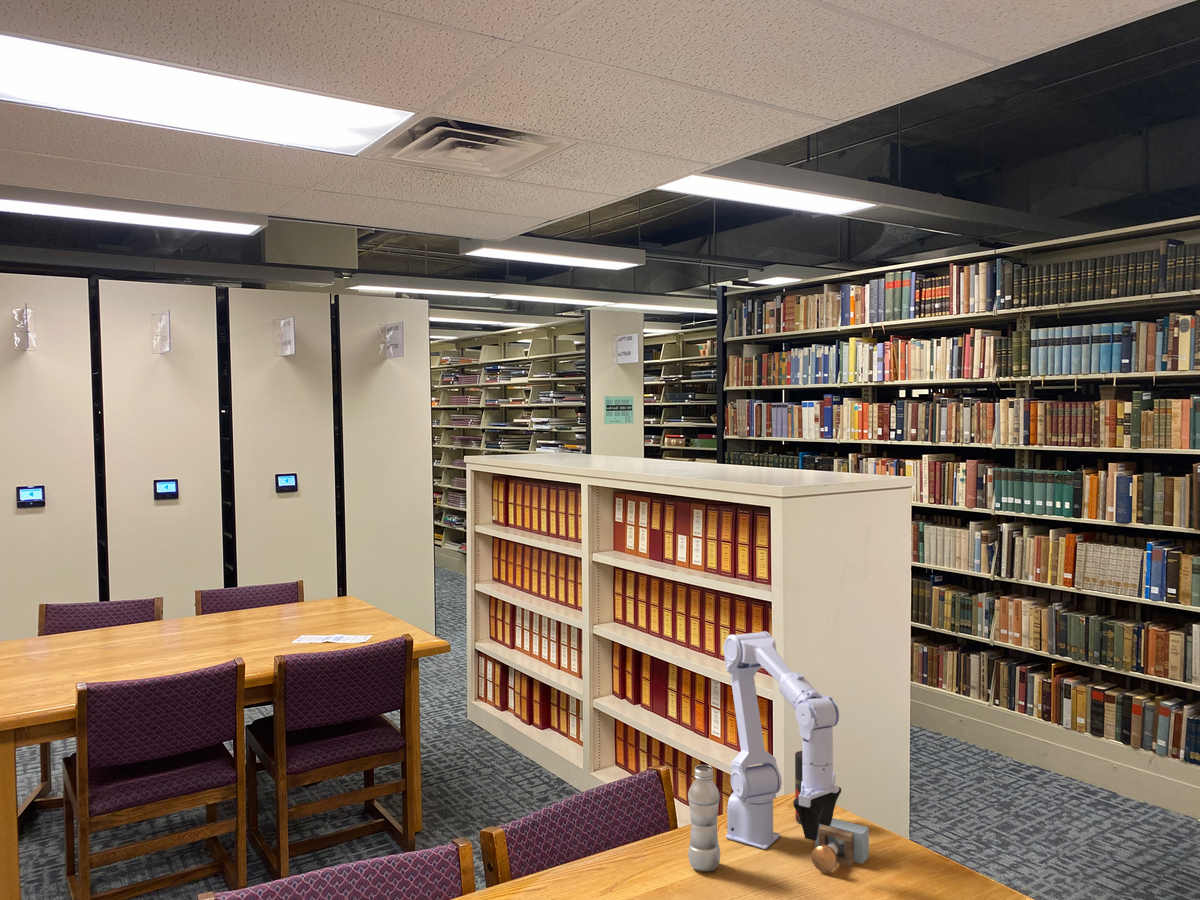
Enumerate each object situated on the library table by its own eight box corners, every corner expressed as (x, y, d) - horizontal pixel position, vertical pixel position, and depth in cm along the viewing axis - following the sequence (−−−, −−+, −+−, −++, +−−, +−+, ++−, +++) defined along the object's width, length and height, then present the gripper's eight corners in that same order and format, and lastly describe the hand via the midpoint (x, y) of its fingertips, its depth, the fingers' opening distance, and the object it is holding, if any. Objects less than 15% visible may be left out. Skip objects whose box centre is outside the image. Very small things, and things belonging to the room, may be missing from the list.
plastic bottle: (724, 863, 168) (724, 764, 168) (714, 878, 162) (714, 776, 162) (694, 857, 171) (693, 760, 171) (683, 872, 164) (683, 771, 165)
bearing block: (815, 850, 173) (815, 822, 173) (822, 843, 177) (821, 815, 177) (862, 864, 167) (862, 834, 168) (868, 856, 171) (868, 827, 171)
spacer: (819, 857, 170) (818, 828, 171) (822, 853, 172) (822, 824, 172) (850, 866, 167) (850, 836, 167) (853, 862, 168) (853, 833, 168)
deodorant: (823, 827, 184) (822, 760, 184) (795, 825, 185) (795, 758, 186) (821, 816, 190) (821, 751, 190) (795, 814, 191) (794, 749, 191)
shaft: (834, 875, 162) (834, 850, 162) (811, 868, 165) (811, 844, 165) (853, 853, 171) (853, 830, 171) (831, 847, 174) (830, 824, 174)
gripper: (824, 777, 151) (825, 851, 151) (850, 754, 163) (850, 823, 163) (788, 768, 155) (788, 841, 155) (815, 747, 167) (816, 814, 167)
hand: (818, 831), depth 159 cm, fingers open, 7 cm apart
